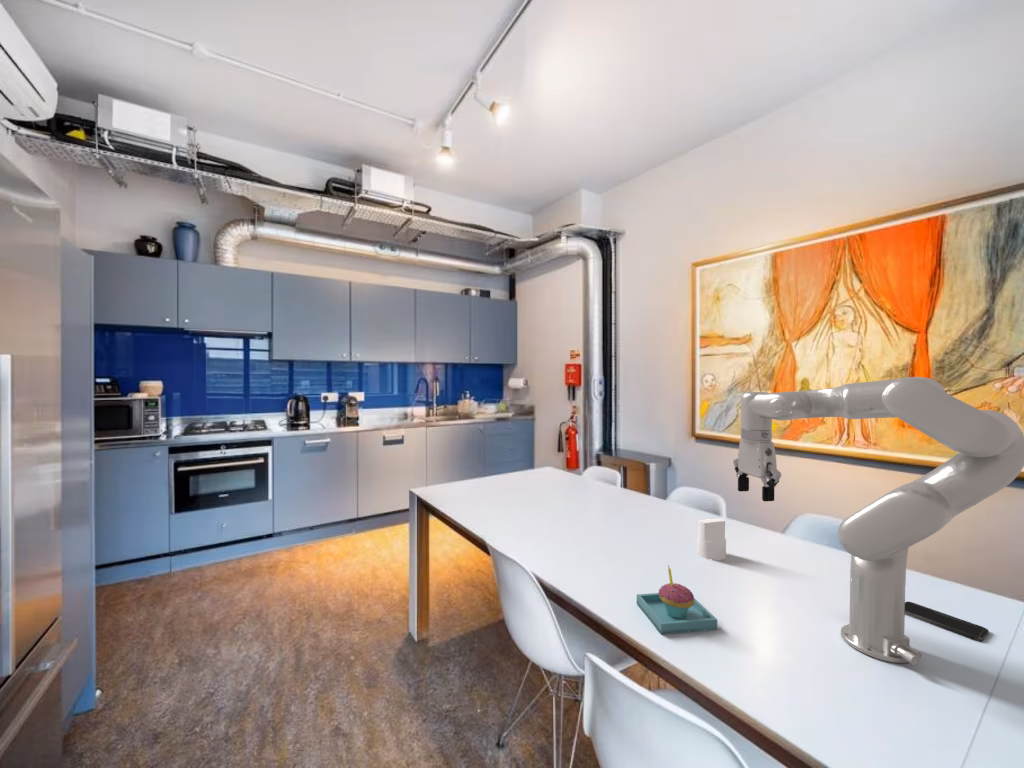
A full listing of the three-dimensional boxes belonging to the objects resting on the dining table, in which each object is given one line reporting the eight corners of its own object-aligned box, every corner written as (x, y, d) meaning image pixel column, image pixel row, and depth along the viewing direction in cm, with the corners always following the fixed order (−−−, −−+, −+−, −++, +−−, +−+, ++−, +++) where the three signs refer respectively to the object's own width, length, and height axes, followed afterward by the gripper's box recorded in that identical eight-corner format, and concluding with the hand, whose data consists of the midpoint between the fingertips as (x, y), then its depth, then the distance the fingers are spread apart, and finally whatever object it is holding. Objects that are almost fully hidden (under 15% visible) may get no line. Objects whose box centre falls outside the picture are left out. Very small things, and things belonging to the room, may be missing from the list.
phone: (981, 639, 97) (896, 608, 110) (980, 644, 97) (896, 612, 110) (989, 629, 101) (907, 600, 114) (989, 633, 101) (907, 604, 114)
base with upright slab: (709, 561, 139) (710, 526, 138) (691, 550, 147) (691, 517, 147) (732, 558, 141) (732, 523, 141) (712, 548, 150) (713, 515, 150)
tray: (717, 629, 101) (717, 619, 101) (661, 634, 100) (661, 624, 99) (686, 599, 115) (686, 590, 115) (636, 603, 113) (636, 594, 113)
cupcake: (656, 616, 105) (656, 570, 105) (661, 601, 113) (661, 557, 113) (692, 626, 101) (693, 578, 101) (695, 609, 109) (696, 564, 109)
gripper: (792, 439, 109) (791, 504, 109) (746, 431, 126) (746, 487, 126) (766, 440, 108) (766, 505, 108) (724, 431, 125) (723, 488, 125)
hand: (755, 495), depth 117 cm, fingers open, 9 cm apart
